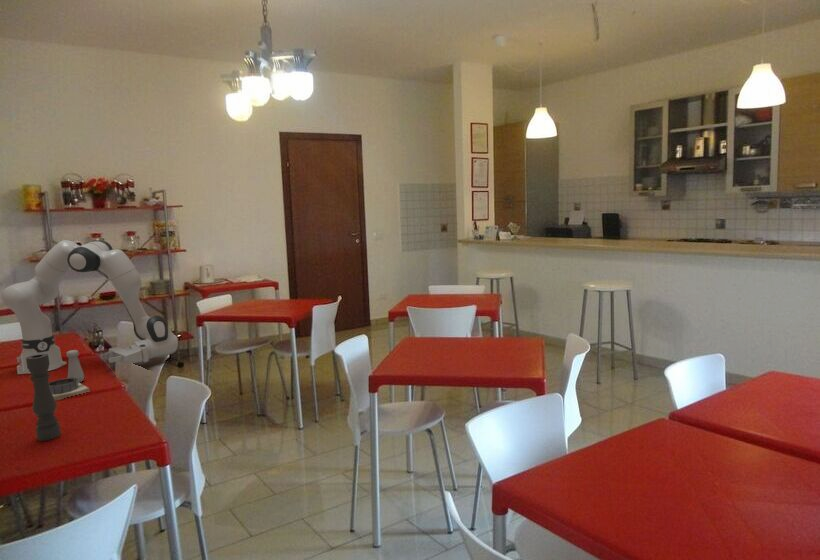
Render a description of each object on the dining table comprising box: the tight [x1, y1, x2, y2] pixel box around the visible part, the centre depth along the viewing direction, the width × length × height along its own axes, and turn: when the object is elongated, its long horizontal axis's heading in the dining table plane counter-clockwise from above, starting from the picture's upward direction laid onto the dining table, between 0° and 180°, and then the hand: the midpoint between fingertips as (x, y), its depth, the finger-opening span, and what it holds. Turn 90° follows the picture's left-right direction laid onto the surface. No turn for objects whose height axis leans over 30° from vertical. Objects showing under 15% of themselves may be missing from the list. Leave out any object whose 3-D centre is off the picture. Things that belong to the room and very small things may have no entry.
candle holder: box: [26, 354, 62, 442], centre depth 178 cm, size 6×6×25 cm
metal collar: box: [49, 377, 79, 394], centre depth 222 cm, size 10×10×3 cm
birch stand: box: [52, 382, 91, 402], centre depth 223 cm, size 14×14×2 cm
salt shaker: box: [65, 349, 85, 383], centre depth 236 cm, size 6×6×13 cm
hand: (104, 358), depth 244 cm, fingers open, 8 cm apart
